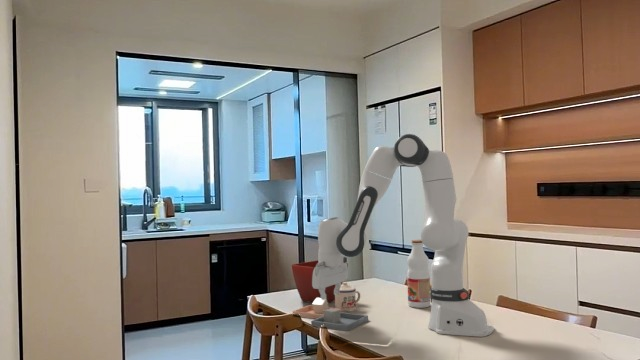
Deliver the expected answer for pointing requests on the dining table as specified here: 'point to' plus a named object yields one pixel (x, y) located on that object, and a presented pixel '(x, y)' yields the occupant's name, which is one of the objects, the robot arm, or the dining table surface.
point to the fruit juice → (418, 277)
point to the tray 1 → (310, 312)
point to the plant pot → (309, 282)
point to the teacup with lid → (346, 298)
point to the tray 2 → (342, 321)
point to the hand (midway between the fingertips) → (330, 296)
